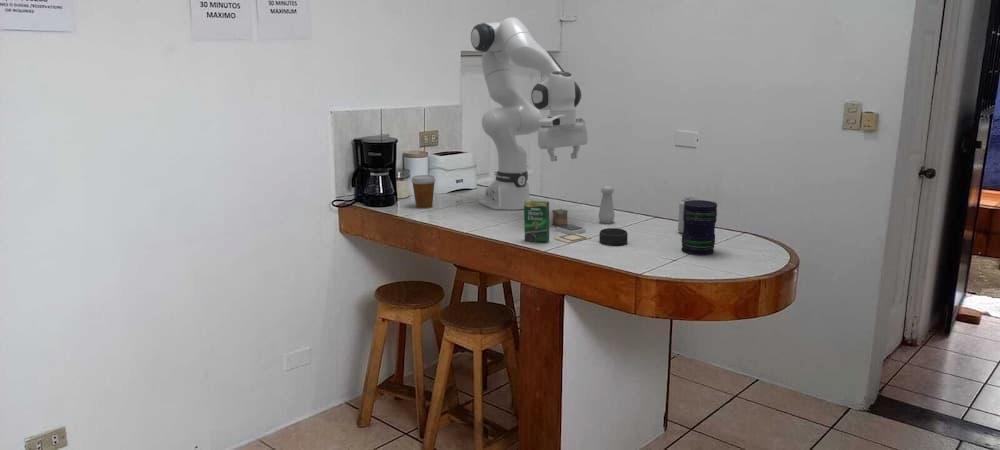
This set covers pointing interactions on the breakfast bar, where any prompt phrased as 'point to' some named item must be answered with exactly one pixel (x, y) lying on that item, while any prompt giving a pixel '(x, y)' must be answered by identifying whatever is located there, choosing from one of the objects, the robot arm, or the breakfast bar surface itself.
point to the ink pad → (570, 229)
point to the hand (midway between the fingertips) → (563, 159)
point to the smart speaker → (613, 236)
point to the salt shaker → (606, 206)
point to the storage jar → (699, 227)
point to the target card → (572, 238)
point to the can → (681, 209)
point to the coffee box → (536, 221)
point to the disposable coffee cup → (423, 190)
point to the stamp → (559, 217)
